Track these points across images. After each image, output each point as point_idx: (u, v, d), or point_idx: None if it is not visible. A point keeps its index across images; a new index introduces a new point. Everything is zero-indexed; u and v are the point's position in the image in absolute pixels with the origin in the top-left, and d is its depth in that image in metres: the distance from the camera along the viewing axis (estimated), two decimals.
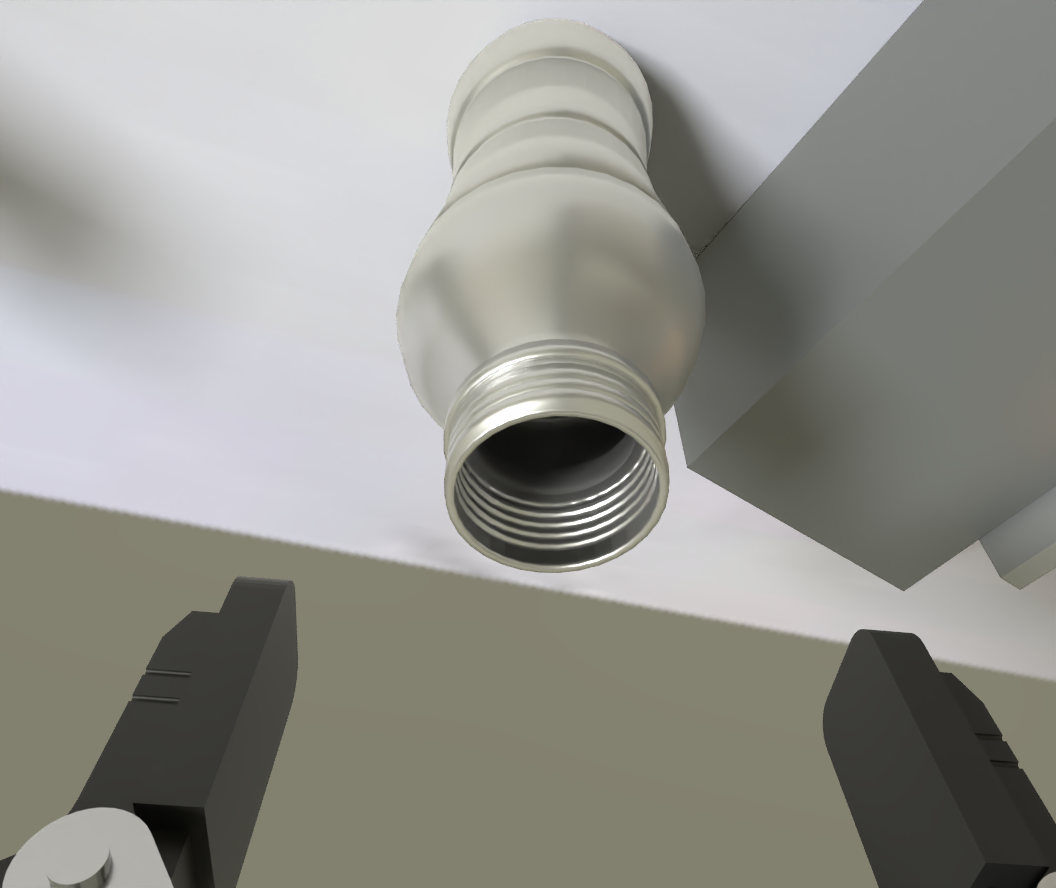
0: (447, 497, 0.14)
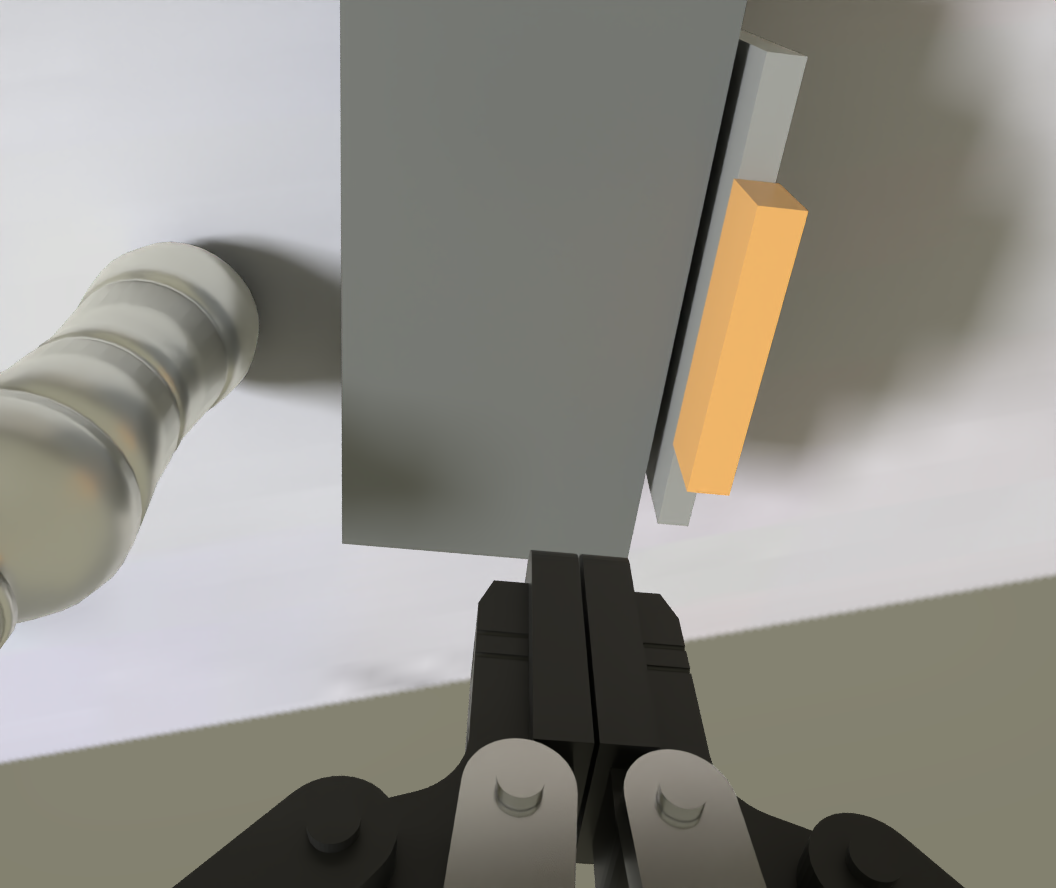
0: None
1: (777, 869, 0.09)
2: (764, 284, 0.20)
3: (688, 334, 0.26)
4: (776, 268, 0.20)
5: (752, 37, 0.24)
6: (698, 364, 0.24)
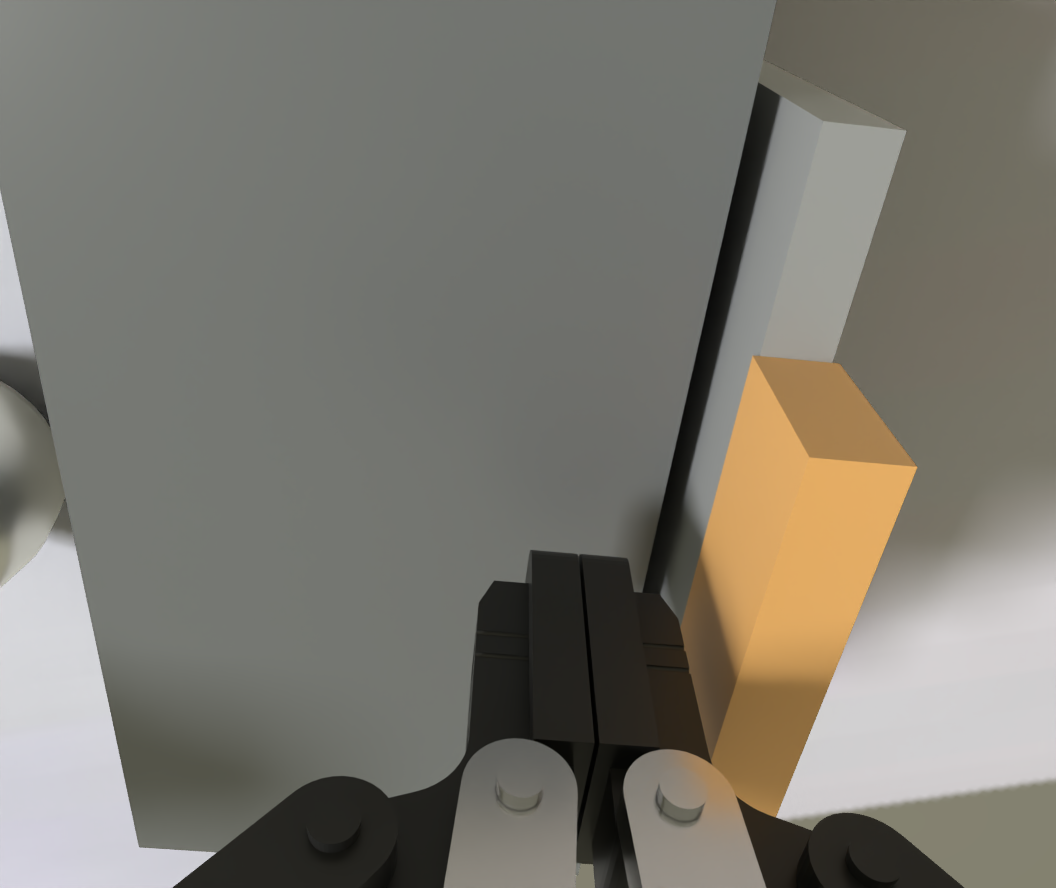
0: None
1: (777, 869, 0.09)
2: (818, 592, 0.10)
3: (672, 575, 0.15)
4: (843, 565, 0.10)
5: (781, 76, 0.13)
6: None
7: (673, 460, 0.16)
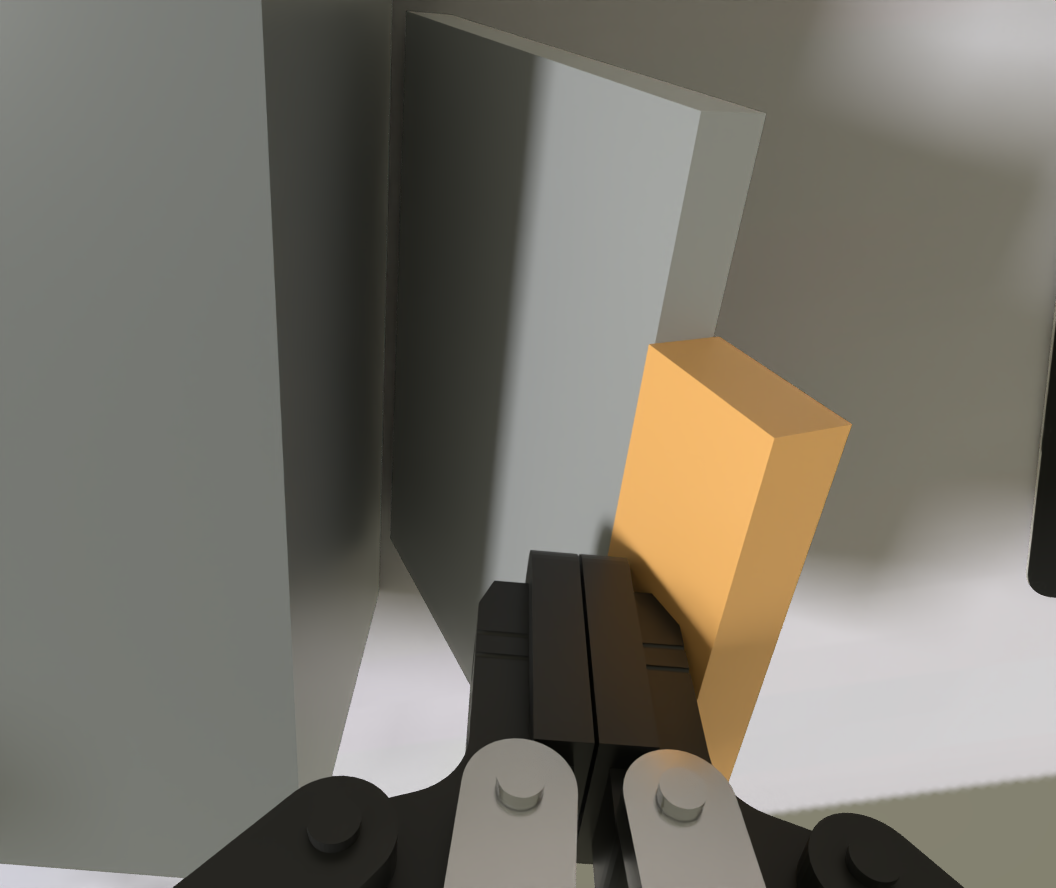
0: None
1: (777, 869, 0.09)
2: (774, 555, 0.11)
3: None
4: (794, 526, 0.11)
5: (576, 58, 0.13)
6: None
7: (529, 453, 0.16)
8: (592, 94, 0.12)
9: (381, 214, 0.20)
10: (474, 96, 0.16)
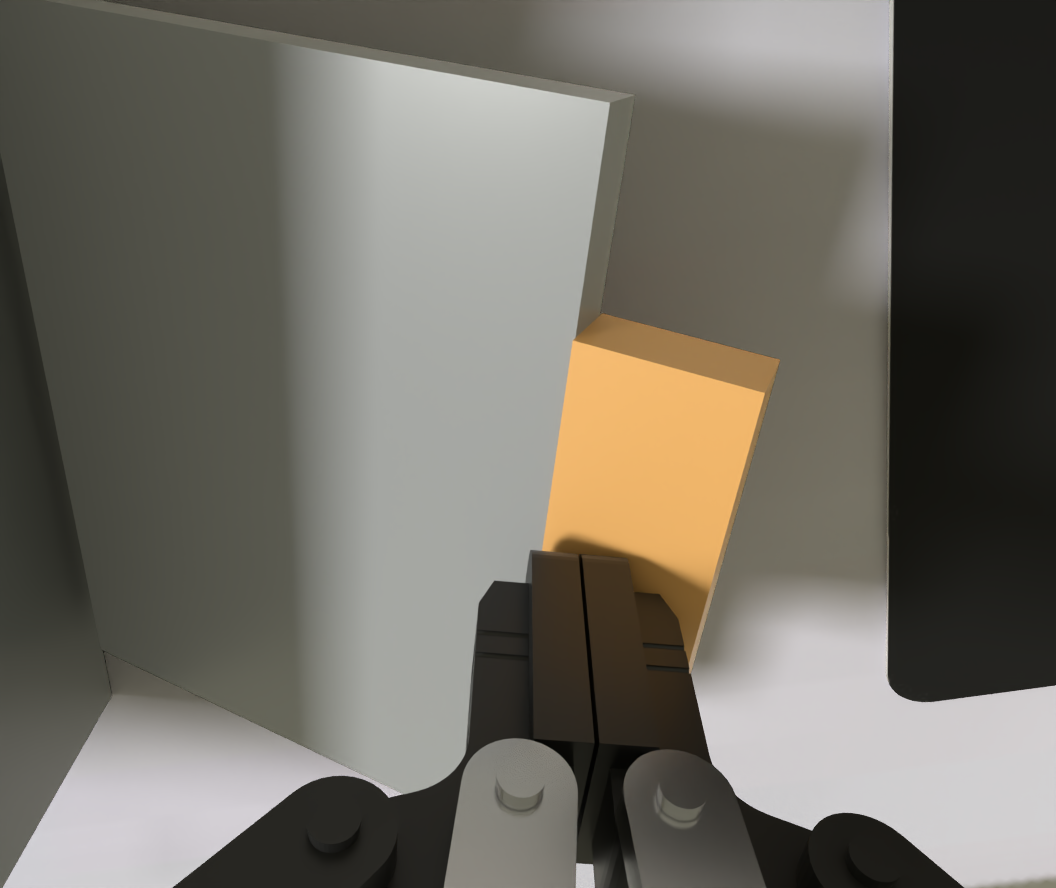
0: None
1: (777, 869, 0.09)
2: (738, 491, 0.12)
3: (457, 585, 0.14)
4: (748, 460, 0.12)
5: (337, 45, 0.12)
6: None
7: (378, 487, 0.14)
8: (421, 90, 0.11)
9: None
10: (172, 99, 0.12)
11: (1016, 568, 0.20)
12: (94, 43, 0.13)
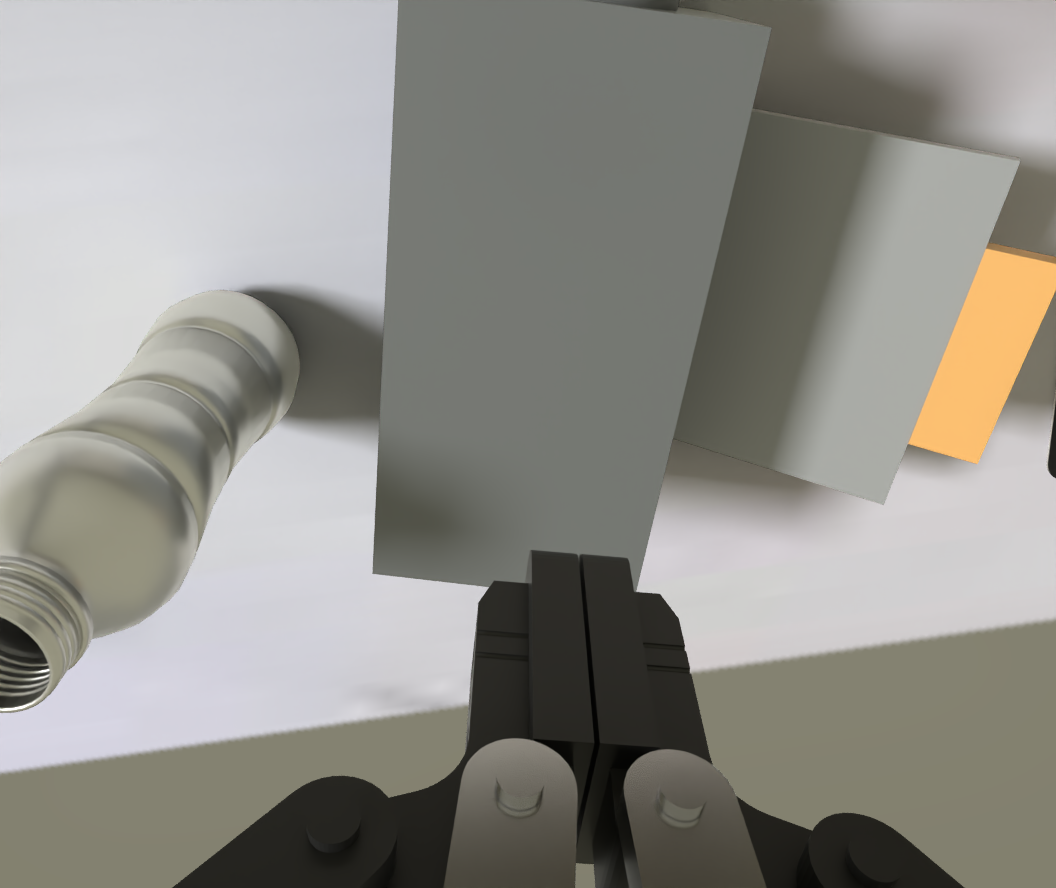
0: None
1: (777, 869, 0.09)
2: None
3: (896, 364, 0.33)
4: None
5: (891, 135, 0.30)
6: (956, 380, 0.32)
7: (866, 319, 0.33)
8: (939, 154, 0.29)
9: None
10: (812, 153, 0.31)
11: None
12: (779, 130, 0.31)
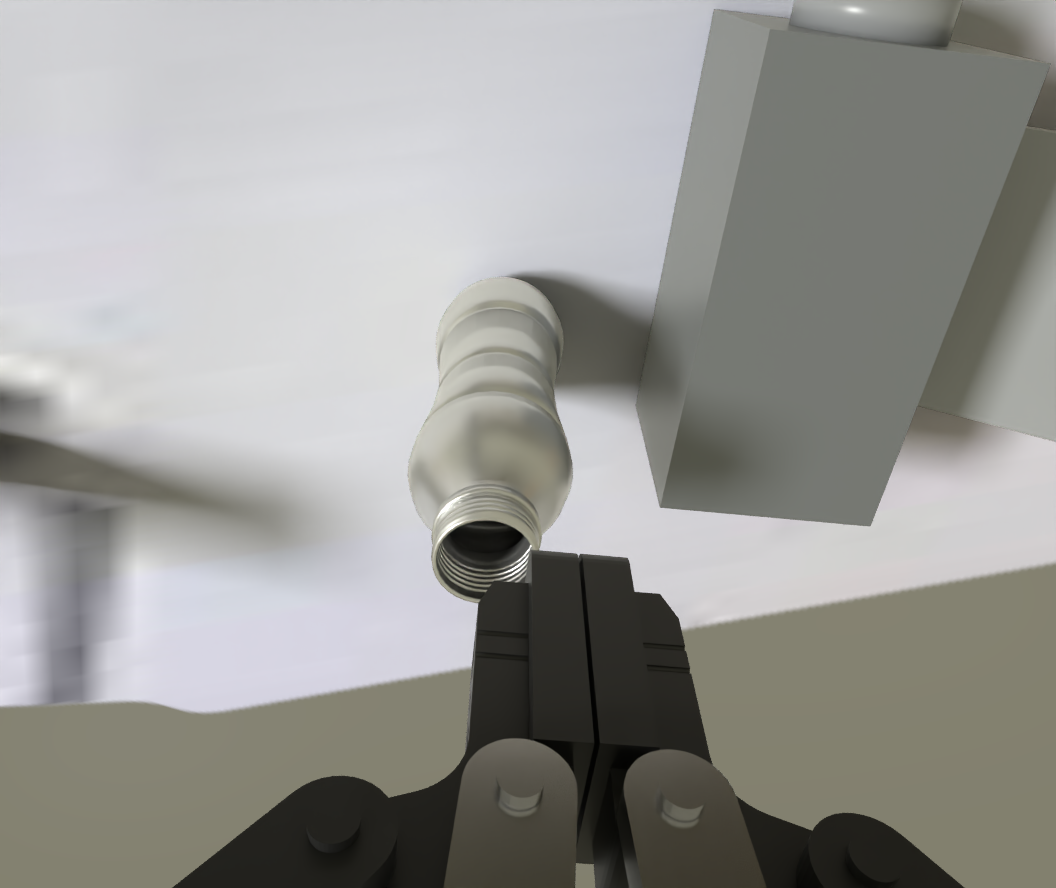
0: (439, 581, 0.28)
1: (777, 869, 0.09)
2: None
3: None
4: None
5: None
6: None
7: (1055, 288, 0.40)
8: None
9: None
10: (1019, 152, 0.38)
11: None
12: None
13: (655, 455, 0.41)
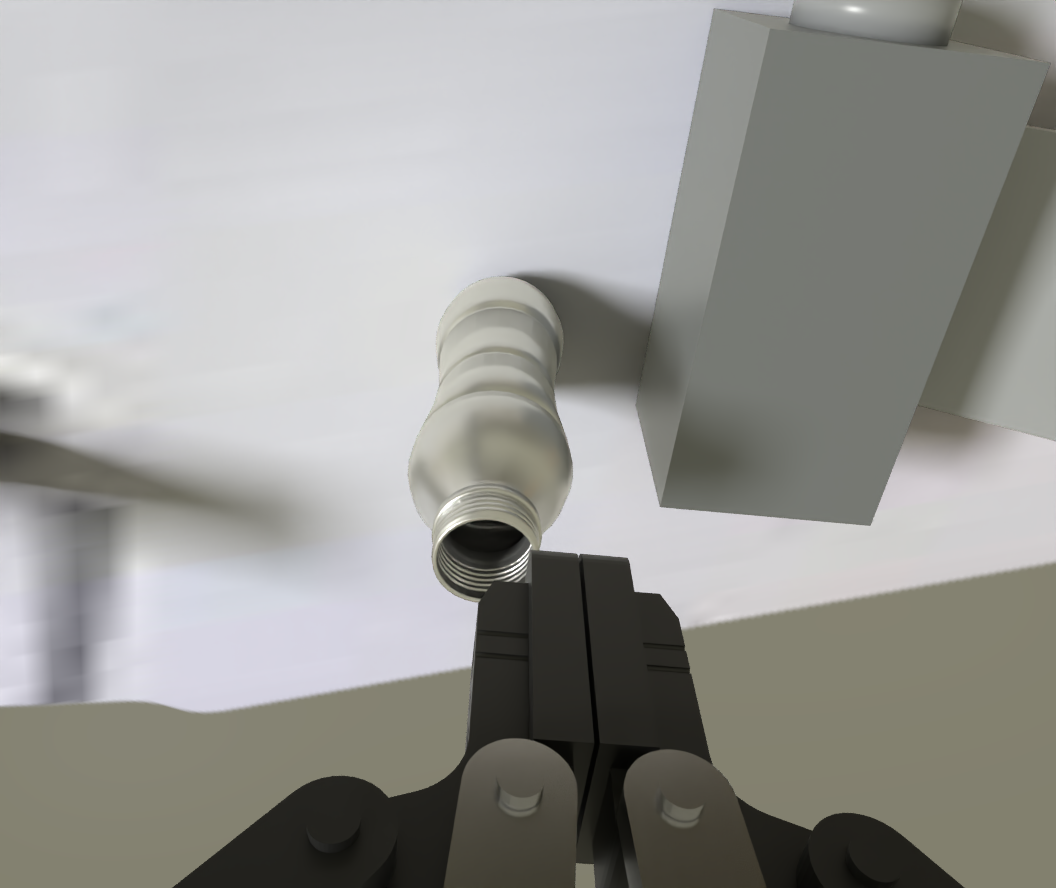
0: (440, 580, 0.28)
1: (777, 869, 0.09)
2: None
3: None
4: None
5: None
6: None
7: (1055, 287, 0.40)
8: None
9: None
10: (1018, 151, 0.38)
11: None
12: None
13: (655, 454, 0.41)
